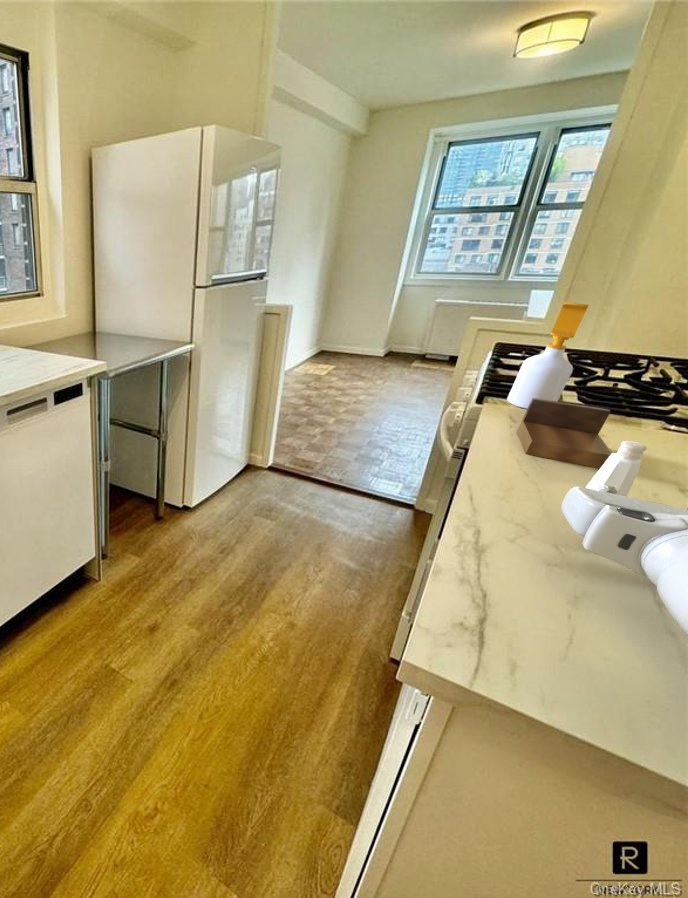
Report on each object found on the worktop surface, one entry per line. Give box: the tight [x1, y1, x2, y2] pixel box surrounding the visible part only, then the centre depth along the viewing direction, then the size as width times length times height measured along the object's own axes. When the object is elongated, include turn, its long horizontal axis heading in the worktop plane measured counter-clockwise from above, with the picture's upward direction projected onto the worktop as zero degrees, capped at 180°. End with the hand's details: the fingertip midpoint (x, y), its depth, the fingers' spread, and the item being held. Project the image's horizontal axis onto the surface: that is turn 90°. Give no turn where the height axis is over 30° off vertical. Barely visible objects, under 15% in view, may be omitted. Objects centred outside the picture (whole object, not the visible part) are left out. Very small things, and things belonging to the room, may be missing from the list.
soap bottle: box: [506, 302, 589, 410], centre depth 113 cm, size 9×9×25 cm
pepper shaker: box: [584, 440, 648, 497], centre depth 79 cm, size 5×5×11 cm
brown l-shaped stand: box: [516, 398, 613, 469], centre depth 96 cm, size 12×12×8 cm
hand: (648, 498), depth 69 cm, fingers open, 8 cm apart
